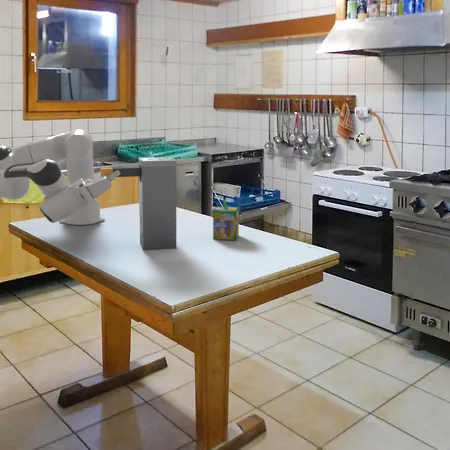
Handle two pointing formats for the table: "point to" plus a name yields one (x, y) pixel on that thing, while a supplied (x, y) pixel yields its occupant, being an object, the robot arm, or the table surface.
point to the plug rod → (122, 171)
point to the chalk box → (225, 222)
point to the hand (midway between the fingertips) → (118, 170)
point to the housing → (157, 203)
